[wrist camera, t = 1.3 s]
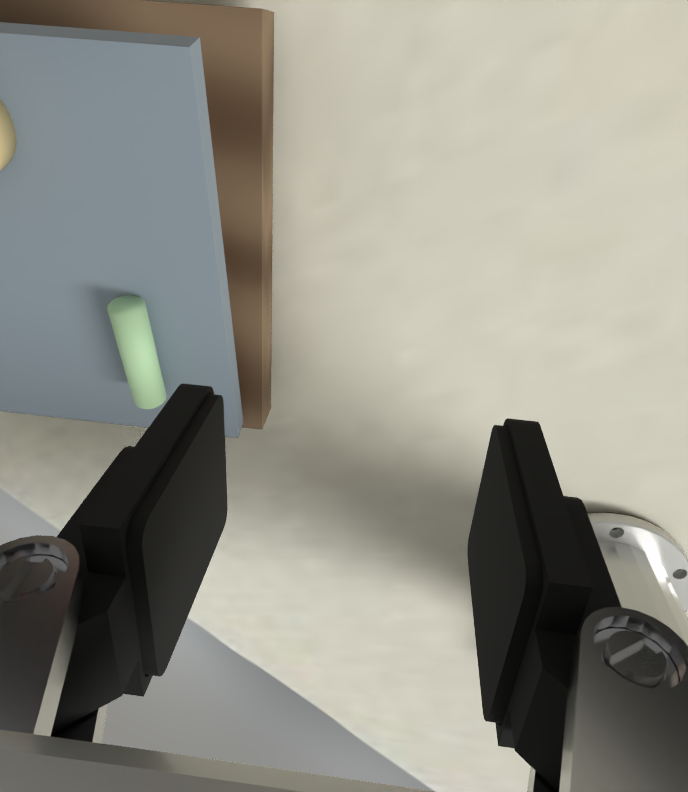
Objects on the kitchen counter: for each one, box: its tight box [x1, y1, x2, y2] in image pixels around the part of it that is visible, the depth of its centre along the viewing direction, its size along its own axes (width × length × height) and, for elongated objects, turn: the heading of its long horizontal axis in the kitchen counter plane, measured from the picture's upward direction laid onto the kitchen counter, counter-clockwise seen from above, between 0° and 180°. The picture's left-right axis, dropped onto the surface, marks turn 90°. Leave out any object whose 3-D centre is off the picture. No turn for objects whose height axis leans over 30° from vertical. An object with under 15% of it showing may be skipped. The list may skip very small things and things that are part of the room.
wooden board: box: [0, 0, 274, 429], centre depth 32 cm, size 20×20×4 cm
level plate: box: [0, 22, 243, 438], centre depth 27 cm, size 19×18×3 cm
